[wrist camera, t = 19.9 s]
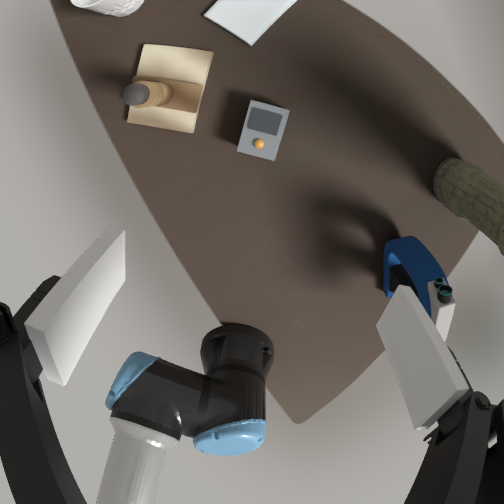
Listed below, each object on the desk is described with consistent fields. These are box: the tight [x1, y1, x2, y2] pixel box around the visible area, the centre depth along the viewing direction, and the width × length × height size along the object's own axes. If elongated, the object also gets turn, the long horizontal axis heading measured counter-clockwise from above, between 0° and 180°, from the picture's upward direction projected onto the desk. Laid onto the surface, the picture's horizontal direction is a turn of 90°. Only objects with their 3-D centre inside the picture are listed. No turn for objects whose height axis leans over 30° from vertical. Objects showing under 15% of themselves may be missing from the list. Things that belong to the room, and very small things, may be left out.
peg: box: [122, 81, 174, 108], centre depth 29 cm, size 3×3×10 cm
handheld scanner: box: [383, 236, 455, 342], centre depth 40 cm, size 5×16×20 cm, turn 14°
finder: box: [237, 100, 290, 161], centre depth 36 cm, size 7×5×4 cm
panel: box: [127, 44, 214, 133], centre depth 34 cm, size 12×10×2 cm
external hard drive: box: [204, 0, 297, 46], centre depth 28 cm, size 2×8×12 cm
